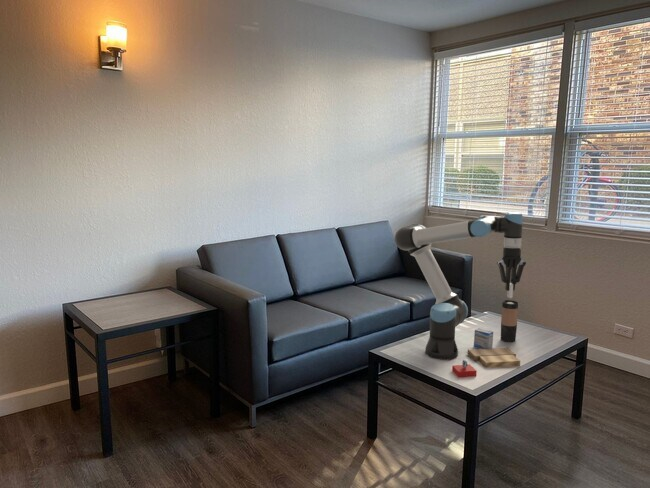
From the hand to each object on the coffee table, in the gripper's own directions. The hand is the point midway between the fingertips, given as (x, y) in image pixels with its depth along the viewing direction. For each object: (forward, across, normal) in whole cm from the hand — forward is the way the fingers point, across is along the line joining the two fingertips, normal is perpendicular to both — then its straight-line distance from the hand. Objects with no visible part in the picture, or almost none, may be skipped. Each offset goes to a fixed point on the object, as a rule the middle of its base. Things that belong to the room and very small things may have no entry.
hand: (509, 297), depth 234 cm
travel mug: (+29, +10, +21) cm, 37 cm away
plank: (+29, -7, -7) cm, 30 cm away
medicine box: (+29, -6, +12) cm, 32 cm away
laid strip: (+29, -7, +1) cm, 30 cm away
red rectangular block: (+29, -26, -16) cm, 43 cm away
